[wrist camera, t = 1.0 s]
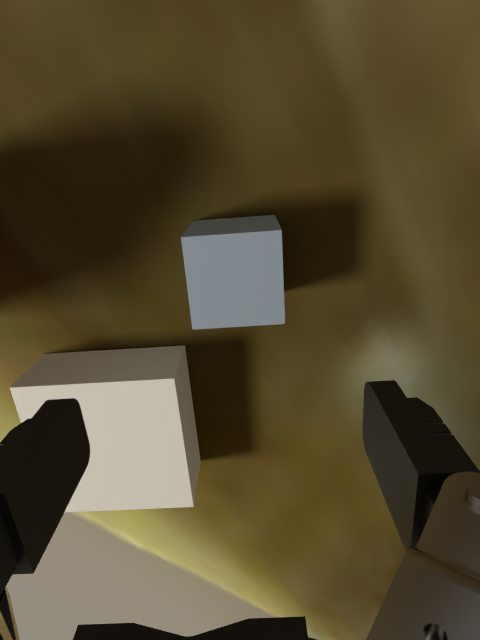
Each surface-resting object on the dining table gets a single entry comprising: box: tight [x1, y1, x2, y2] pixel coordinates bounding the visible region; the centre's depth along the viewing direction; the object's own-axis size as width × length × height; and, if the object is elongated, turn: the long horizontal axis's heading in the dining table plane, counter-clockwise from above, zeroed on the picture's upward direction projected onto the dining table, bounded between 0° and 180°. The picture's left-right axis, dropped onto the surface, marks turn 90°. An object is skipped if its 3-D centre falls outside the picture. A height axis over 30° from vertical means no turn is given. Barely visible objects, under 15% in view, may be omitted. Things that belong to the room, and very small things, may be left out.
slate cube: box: [181, 215, 285, 329], centre depth 26 cm, size 6×6×6 cm
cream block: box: [10, 345, 201, 512], centre depth 32 cm, size 11×11×5 cm
